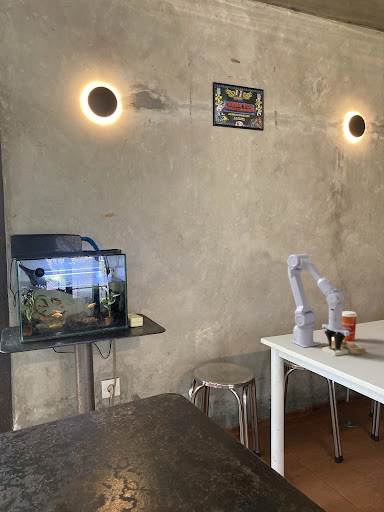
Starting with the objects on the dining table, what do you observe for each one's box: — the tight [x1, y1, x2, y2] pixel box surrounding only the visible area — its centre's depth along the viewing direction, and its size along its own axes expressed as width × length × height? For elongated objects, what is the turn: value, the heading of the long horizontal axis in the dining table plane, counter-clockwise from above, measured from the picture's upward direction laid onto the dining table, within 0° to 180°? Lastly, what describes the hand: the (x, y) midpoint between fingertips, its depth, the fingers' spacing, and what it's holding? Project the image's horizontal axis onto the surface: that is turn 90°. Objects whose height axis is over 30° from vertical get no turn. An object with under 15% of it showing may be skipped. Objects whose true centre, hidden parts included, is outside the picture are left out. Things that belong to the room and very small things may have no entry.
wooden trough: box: [341, 340, 367, 356], centre depth 176 cm, size 12×6×2 cm, turn 24°
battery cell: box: [331, 336, 339, 351], centre depth 173 cm, size 3×3×8 cm
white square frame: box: [321, 346, 349, 357], centre depth 174 cm, size 8×8×2 cm
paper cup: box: [342, 310, 358, 343], centre depth 191 cm, size 8×8×14 cm
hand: (334, 347), depth 174 cm, fingers closed on battery cell, 3 cm apart
